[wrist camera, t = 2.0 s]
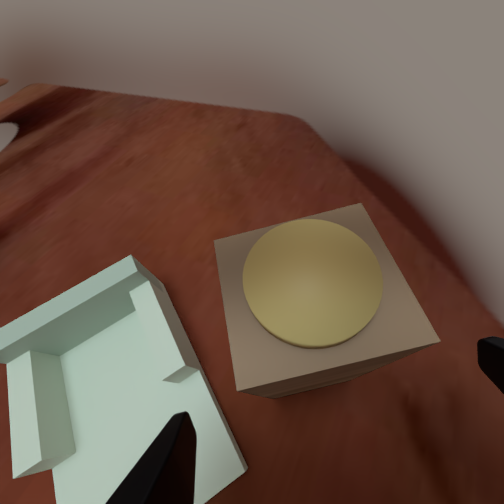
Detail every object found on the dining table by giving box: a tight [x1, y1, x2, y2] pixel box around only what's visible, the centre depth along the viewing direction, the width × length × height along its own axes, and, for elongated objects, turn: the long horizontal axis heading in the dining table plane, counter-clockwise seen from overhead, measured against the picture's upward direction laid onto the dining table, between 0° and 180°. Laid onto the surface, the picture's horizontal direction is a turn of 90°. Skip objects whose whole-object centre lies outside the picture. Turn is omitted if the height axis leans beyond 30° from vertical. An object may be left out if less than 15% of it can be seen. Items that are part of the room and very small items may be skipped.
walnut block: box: [214, 203, 441, 399], centre depth 12 cm, size 4×5×13 cm
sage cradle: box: [0, 255, 248, 504], centre depth 15 cm, size 14×10×5 cm
